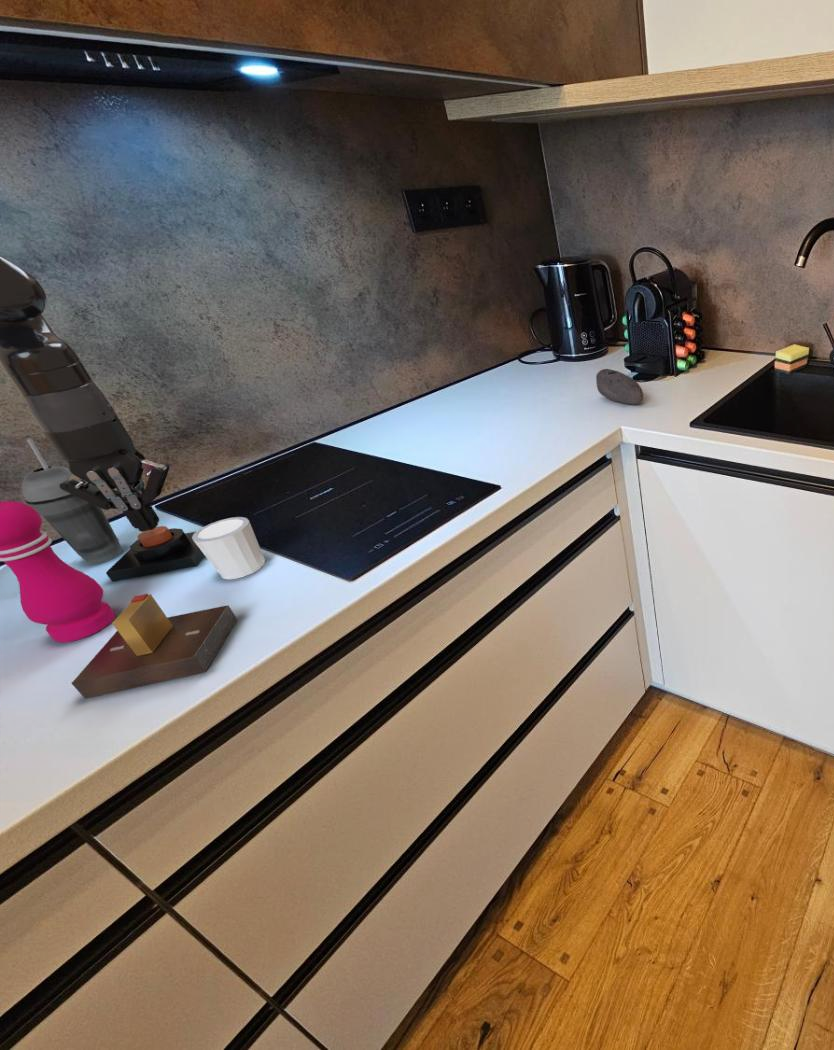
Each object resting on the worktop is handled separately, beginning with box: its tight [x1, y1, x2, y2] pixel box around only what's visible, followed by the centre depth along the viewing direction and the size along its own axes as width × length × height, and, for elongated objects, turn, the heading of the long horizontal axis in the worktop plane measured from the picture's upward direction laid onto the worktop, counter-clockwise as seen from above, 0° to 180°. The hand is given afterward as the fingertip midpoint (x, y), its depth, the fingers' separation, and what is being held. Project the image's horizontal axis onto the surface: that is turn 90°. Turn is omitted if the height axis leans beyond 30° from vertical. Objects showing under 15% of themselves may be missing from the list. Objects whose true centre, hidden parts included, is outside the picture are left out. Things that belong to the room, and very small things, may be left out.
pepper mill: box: [0, 500, 116, 643], centre depth 72 cm, size 7×7×20 cm
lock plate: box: [71, 604, 238, 699], centre depth 70 cm, size 12×10×3 cm
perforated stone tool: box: [595, 368, 644, 406], centre depth 139 cm, size 15×5×7 cm, turn 44°
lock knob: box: [111, 593, 173, 656], centre depth 68 cm, size 5×2×5 cm, turn 16°
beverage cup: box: [21, 438, 124, 565], centre depth 88 cm, size 7×7×20 cm
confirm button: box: [137, 525, 173, 547], centre depth 89 cm, size 4×4×2 cm
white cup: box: [192, 516, 266, 580], centre depth 85 cm, size 7×7×7 cm
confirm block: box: [105, 527, 206, 583], centre depth 90 cm, size 11×9×4 cm
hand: (150, 528), depth 88 cm, fingers closed
